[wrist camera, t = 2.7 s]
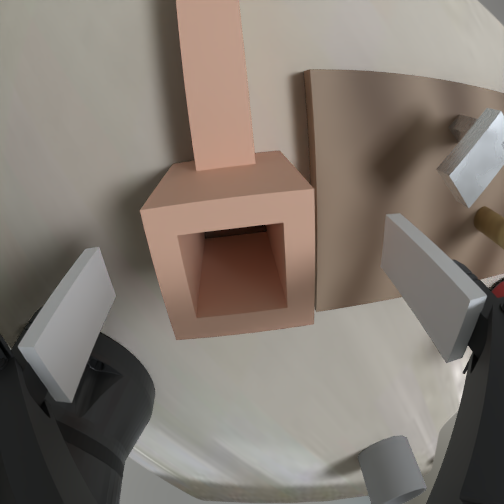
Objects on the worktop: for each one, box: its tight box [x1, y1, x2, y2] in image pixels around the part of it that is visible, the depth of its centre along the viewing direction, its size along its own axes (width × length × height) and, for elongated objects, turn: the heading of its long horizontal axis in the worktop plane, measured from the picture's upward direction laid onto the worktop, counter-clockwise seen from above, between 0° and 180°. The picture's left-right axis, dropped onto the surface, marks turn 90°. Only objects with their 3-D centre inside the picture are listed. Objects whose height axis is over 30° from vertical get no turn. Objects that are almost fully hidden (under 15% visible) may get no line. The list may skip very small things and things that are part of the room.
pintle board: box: [304, 69, 504, 312], centre depth 17 cm, size 20×16×8 cm
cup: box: [358, 435, 426, 504], centre depth 35 cm, size 8×8×10 cm
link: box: [140, 0, 315, 340], centre depth 13 cm, size 18×6×8 cm, turn 5°
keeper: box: [436, 108, 504, 208], centre depth 15 cm, size 3×5×7 cm, turn 139°
